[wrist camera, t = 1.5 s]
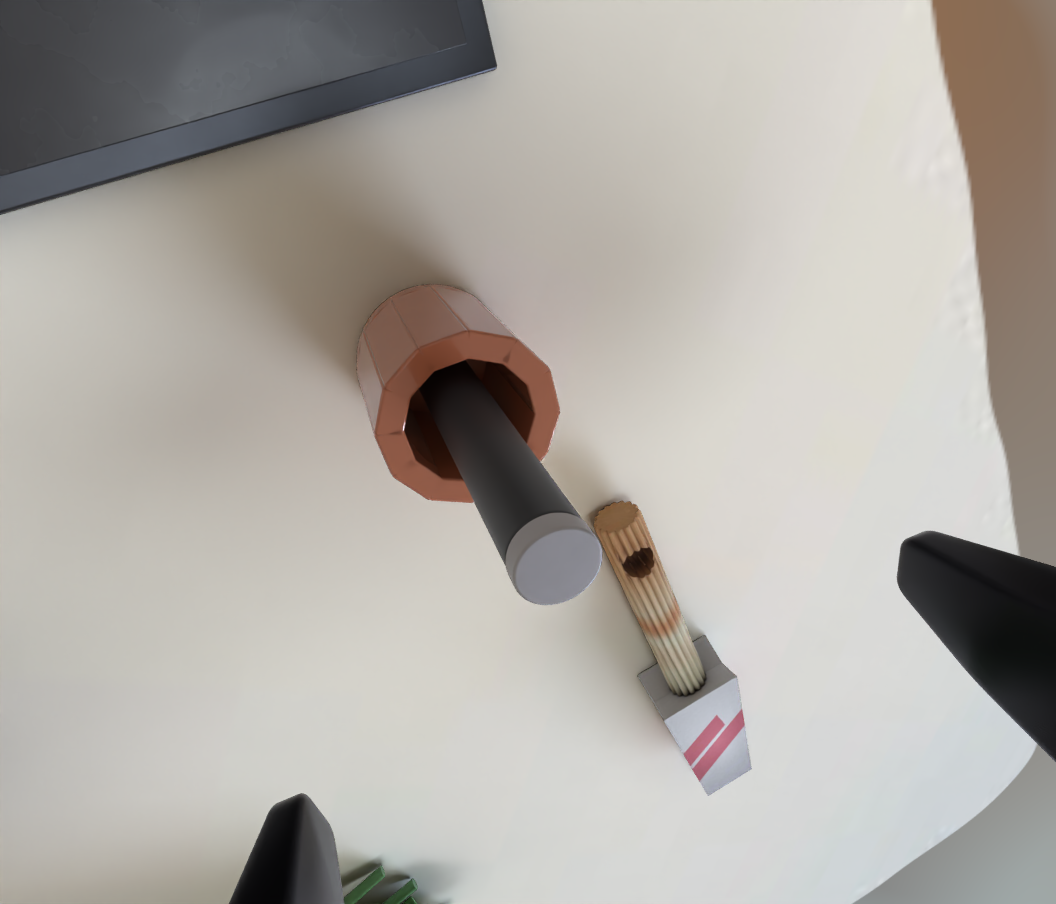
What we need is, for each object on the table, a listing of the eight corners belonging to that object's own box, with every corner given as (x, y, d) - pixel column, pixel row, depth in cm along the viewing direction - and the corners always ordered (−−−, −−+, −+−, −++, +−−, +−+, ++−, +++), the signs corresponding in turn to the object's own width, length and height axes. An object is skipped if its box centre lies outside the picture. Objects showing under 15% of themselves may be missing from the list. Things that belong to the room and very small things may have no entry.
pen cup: (387, 444, 21) (414, 528, 17) (331, 313, 18) (346, 373, 14) (517, 395, 22) (573, 464, 17) (480, 263, 19) (535, 305, 15)
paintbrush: (713, 826, 33) (587, 559, 23) (686, 781, 35) (561, 520, 25) (777, 788, 33) (680, 507, 23) (746, 746, 36) (645, 474, 26)
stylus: (418, 395, 20) (526, 620, 11) (400, 347, 19) (501, 551, 10) (467, 377, 20) (611, 583, 11) (452, 329, 19) (594, 512, 11)
